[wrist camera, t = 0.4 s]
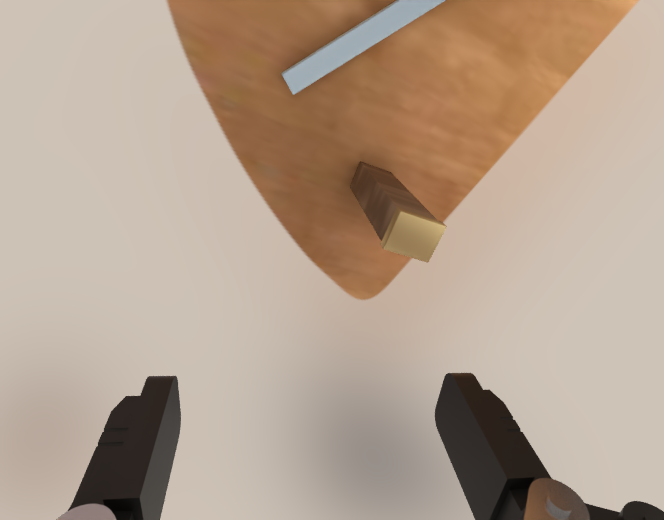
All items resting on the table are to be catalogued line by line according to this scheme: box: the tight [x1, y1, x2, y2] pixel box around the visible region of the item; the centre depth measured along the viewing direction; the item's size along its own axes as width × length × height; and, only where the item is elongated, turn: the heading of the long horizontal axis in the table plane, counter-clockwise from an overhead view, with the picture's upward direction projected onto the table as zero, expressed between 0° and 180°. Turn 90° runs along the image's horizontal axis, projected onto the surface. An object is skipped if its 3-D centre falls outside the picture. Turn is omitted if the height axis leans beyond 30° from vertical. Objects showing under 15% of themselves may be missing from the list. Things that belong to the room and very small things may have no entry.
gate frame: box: [350, 162, 446, 262], centre depth 28 cm, size 21×3×13 cm, turn 159°
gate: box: [281, 0, 445, 95], centre depth 29 cm, size 14×1×6 cm, turn 119°
